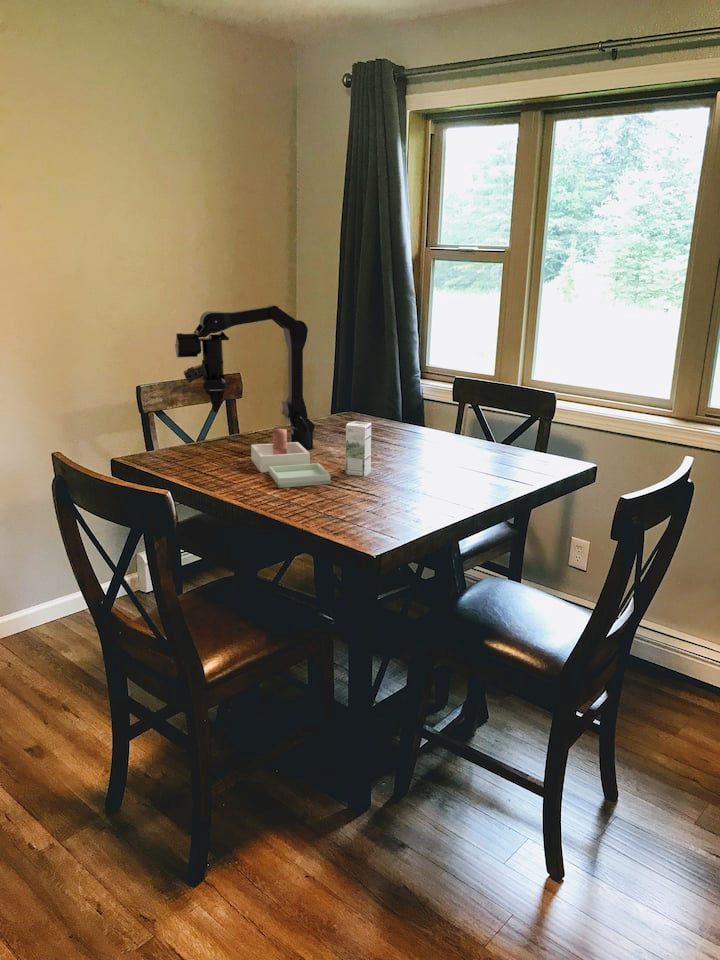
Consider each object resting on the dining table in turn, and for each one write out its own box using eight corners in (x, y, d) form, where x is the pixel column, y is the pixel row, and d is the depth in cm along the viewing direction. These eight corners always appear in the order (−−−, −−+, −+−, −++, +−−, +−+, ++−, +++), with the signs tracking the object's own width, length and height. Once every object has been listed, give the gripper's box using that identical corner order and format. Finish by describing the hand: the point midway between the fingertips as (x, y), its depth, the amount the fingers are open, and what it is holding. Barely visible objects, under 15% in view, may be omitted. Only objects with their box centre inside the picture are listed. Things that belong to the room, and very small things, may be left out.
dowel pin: (285, 461, 221) (284, 428, 218) (288, 465, 217) (288, 431, 215) (271, 462, 220) (271, 429, 217) (274, 466, 216) (274, 432, 213)
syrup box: (371, 472, 214) (372, 421, 210) (364, 478, 208) (365, 426, 204) (351, 470, 215) (352, 420, 211) (344, 475, 210) (345, 424, 206)
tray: (318, 471, 213) (318, 463, 213) (330, 483, 202) (330, 474, 202) (269, 475, 209) (269, 466, 208) (278, 487, 198) (278, 478, 197)
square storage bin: (298, 458, 227) (297, 441, 226) (309, 470, 215) (309, 453, 213) (251, 461, 223) (251, 444, 222) (260, 474, 210) (260, 456, 209)
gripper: (185, 352, 228) (188, 404, 232) (183, 361, 210) (186, 416, 215) (222, 351, 230) (225, 402, 234) (224, 360, 212) (226, 415, 217)
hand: (215, 409), depth 225 cm, fingers open, 9 cm apart
